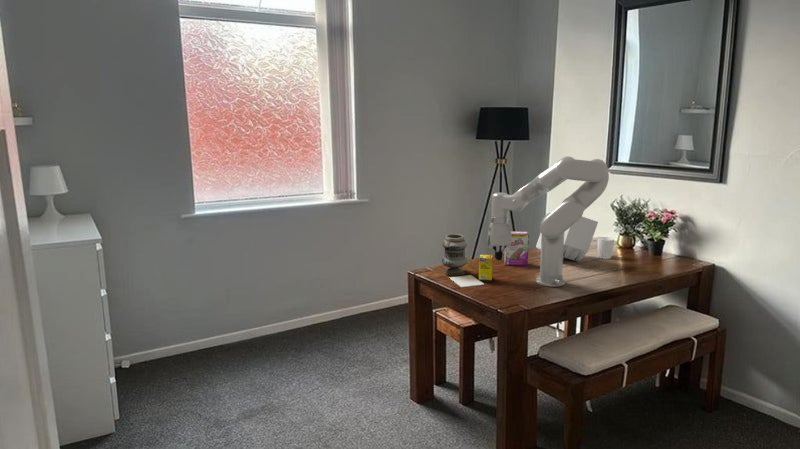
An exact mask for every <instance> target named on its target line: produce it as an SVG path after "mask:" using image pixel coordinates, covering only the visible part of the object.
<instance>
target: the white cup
mask: <svg viewBox="0 0 800 449" xmlns="http://www.w3.org/2000/svg"><path fill="white" fill-rule="evenodd" d="M614 241H615V238H613V237H611V236H610V237H608V236H600V237H599V236H598V237H597V250H596V251H597V258H598V259H602V258H603V260H610V259H612V256H613V249H614V243H615V242H614Z"/></svg>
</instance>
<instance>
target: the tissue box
mask: <svg viewBox="0 0 800 449" xmlns="http://www.w3.org/2000/svg"><path fill="white" fill-rule="evenodd" d="M598 223H599V221H597V220H594V219H590V218H588V217H585V216H583V215H582V216H581V218H580V219H579V220H578V221H577V222H576V223H575V224H573V225H572V226H571V227H570V228H569V229H567V230H566V231H565V232H564V247H563V260H564V259H568V260H571V261H574V262H577V263H578V262H580V261H581V260H582V258H584V257H585V256H586V254H587V253H588V252H589V249H590V246H591V243H592V240H593V239H594V236H595V232H596V230H597V227H598ZM541 237H542V234H541V233H539V237H538V239H537V242H536V246H535V248H537V250H539V251H541Z"/></svg>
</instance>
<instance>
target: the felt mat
mask: <svg viewBox="0 0 800 449" xmlns="http://www.w3.org/2000/svg"><path fill="white" fill-rule="evenodd" d="M449 278H450V279H449V280H451V281H452V282H453V281H454V282H453V283H455V284H456V285H457V286H459V287H460V288H468V287H477V286H485V283H483V281H479V278H478V279H477V278H476V277H474V276H473V275H472V274H469V275H461V276H460V275H458V276H451V277H450V276H449Z"/></svg>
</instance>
